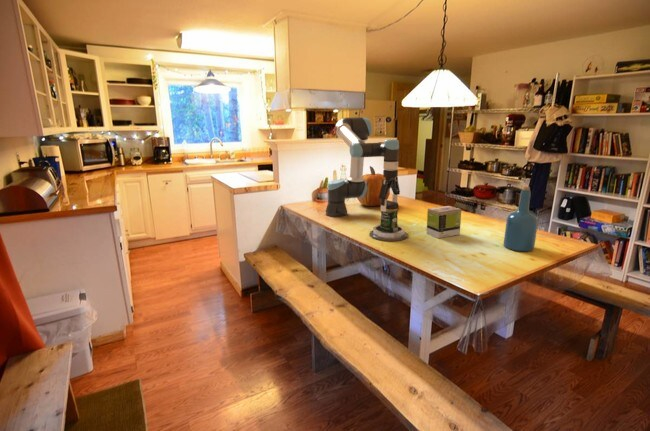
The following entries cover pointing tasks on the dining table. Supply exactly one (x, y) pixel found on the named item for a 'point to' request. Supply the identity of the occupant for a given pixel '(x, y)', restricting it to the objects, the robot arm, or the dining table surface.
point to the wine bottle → (521, 225)
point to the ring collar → (388, 234)
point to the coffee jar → (389, 217)
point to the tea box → (443, 221)
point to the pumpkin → (373, 189)
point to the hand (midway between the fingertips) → (389, 208)
